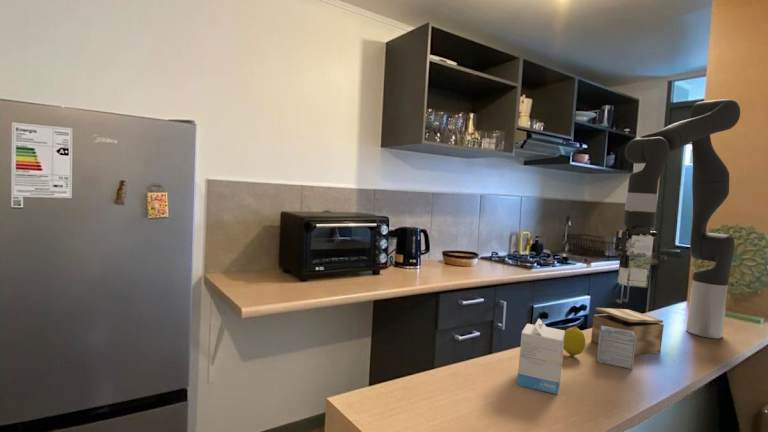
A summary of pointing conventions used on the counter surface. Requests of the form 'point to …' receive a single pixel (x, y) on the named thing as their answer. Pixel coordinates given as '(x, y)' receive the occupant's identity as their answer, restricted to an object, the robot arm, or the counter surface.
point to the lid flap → (629, 315)
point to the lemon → (574, 341)
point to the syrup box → (637, 262)
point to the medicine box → (616, 347)
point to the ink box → (541, 357)
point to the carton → (645, 332)
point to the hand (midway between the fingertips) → (634, 267)
